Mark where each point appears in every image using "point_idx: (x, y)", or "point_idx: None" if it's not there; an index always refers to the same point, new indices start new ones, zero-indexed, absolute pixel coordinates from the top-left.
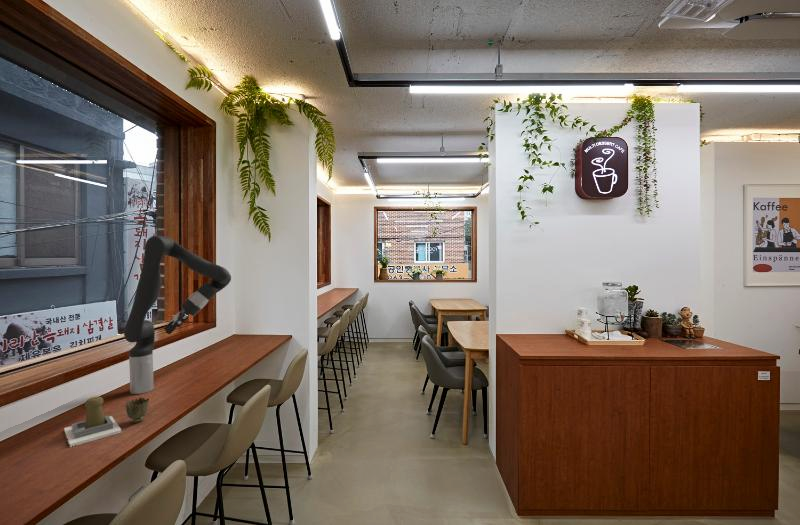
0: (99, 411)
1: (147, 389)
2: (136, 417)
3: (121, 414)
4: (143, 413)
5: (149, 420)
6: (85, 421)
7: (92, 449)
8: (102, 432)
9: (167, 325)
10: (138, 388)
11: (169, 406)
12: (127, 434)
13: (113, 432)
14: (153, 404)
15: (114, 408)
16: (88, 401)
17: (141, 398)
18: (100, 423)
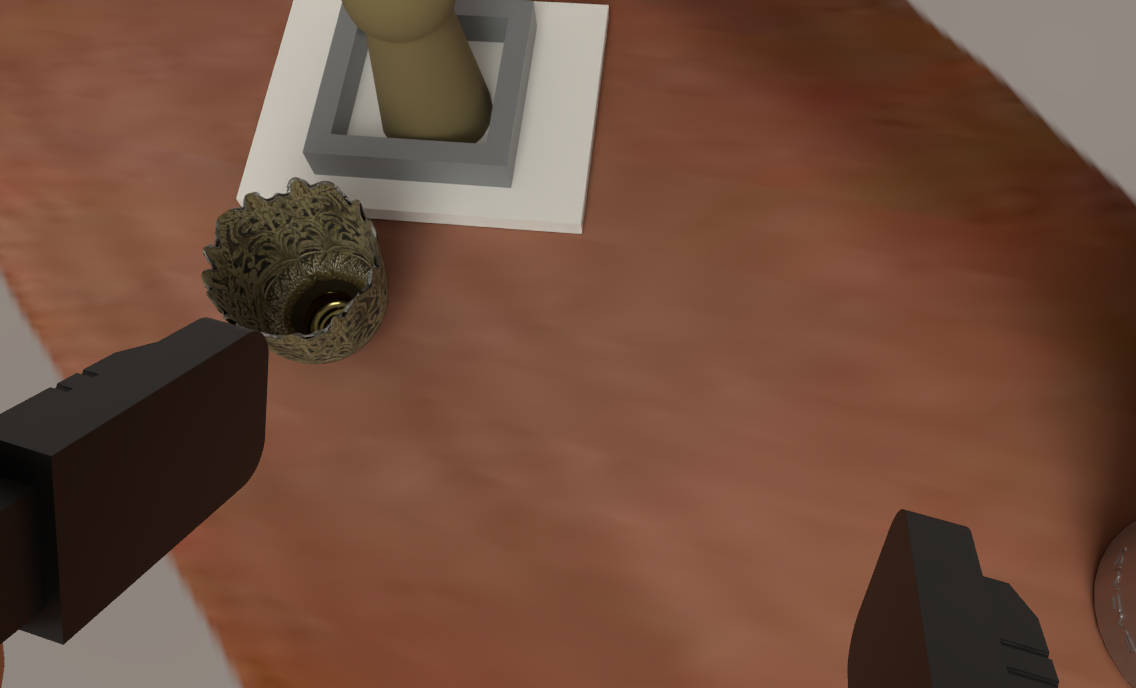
0: (368, 49)
1: (1114, 633)
2: (275, 285)
3: (610, 297)
4: (254, 319)
5: (279, 386)
6: (504, 56)
7: (156, 63)
8: (305, 121)
9: (919, 619)
10: (1132, 543)
11: (445, 608)
12: (175, 224)
13: (247, 163)
14: (633, 536)
15: (814, 301)
16: None
17: (348, 304)
18: (379, 107)
